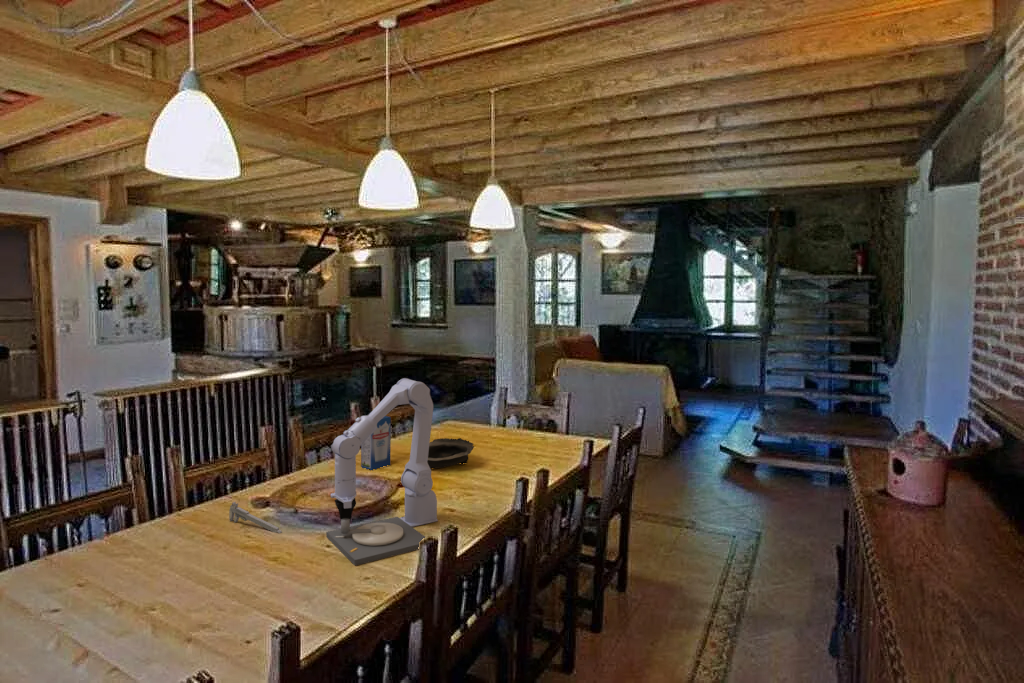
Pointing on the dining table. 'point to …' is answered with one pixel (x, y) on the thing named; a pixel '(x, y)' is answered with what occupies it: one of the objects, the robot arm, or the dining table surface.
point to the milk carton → (377, 446)
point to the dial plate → (371, 553)
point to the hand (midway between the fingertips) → (345, 524)
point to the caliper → (249, 518)
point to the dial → (373, 533)
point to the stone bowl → (448, 452)
